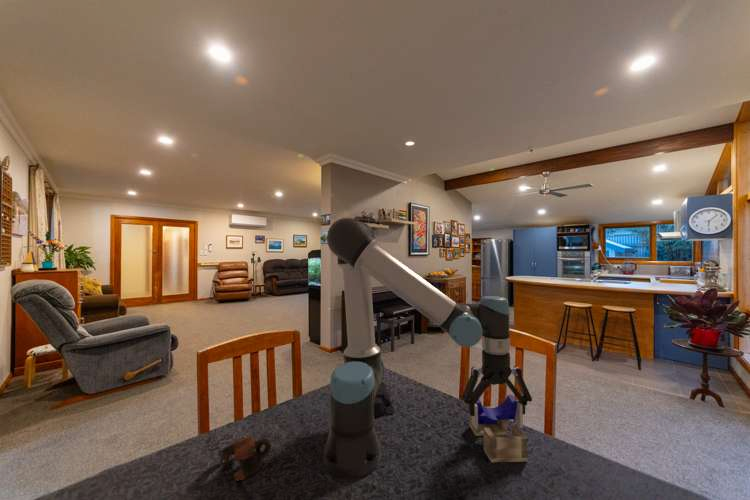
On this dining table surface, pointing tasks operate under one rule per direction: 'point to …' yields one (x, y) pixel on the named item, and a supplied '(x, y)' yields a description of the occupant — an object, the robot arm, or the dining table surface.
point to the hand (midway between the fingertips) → (497, 425)
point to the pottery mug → (246, 455)
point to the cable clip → (497, 411)
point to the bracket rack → (502, 442)
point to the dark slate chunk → (382, 402)
